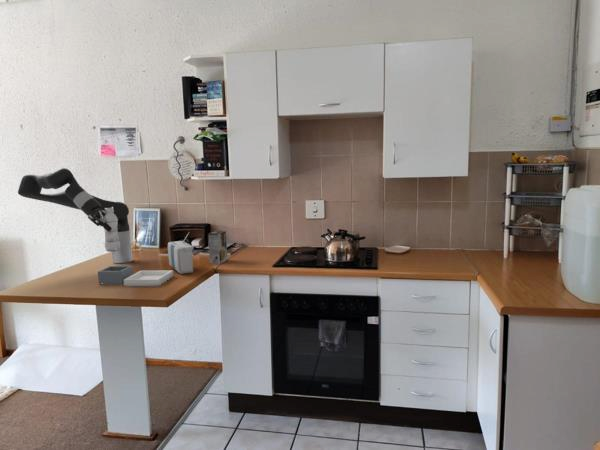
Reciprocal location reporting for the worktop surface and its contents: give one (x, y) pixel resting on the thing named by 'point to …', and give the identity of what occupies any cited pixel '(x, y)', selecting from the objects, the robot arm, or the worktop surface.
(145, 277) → the tray
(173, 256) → the stereo radio cassette player
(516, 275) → the worktop surface
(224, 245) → the coffee box
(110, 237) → the plastic bottle
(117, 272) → the grey open box
